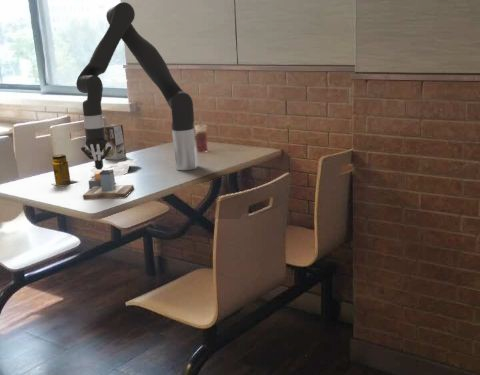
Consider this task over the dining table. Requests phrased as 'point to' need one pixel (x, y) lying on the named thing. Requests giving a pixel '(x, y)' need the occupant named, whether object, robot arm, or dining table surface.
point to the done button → (97, 176)
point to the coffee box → (115, 141)
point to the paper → (118, 167)
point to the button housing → (94, 182)
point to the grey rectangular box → (107, 180)
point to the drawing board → (108, 192)
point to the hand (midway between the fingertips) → (99, 169)
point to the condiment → (61, 171)
